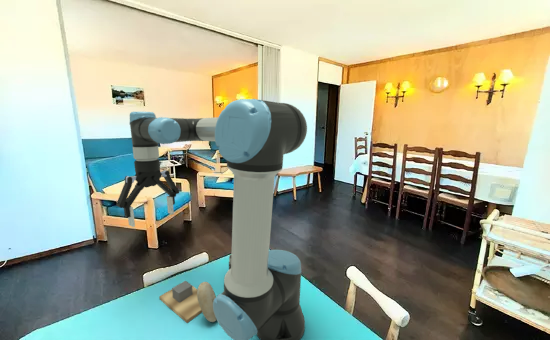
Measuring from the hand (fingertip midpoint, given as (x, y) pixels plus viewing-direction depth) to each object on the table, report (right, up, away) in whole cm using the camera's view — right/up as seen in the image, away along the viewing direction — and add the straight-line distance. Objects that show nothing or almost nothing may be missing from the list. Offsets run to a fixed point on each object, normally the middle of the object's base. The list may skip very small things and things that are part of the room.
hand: (152, 219), depth 84 cm
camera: (+33, -25, +12) cm, 43 cm away
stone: (+23, -29, -10) cm, 38 cm away
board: (+13, -27, -3) cm, 30 cm away
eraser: (+12, -26, -2) cm, 28 cm away
